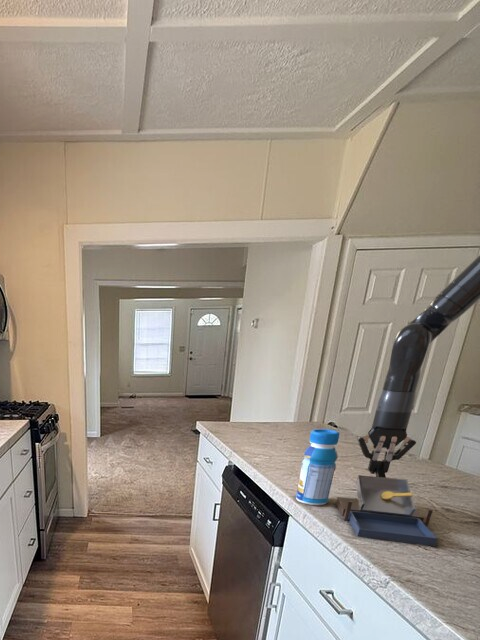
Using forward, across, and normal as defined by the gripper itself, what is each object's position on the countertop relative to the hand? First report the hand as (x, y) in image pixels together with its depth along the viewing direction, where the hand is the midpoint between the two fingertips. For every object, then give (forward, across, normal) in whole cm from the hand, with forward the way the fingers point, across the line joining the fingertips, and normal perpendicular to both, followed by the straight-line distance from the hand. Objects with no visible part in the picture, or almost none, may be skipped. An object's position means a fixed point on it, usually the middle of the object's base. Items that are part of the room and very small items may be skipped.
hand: (376, 473), depth 110 cm
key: (+2, -2, +10) cm, 11 cm away
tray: (+9, 0, +19) cm, 21 cm away
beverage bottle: (+9, +15, +3) cm, 18 cm away
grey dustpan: (+3, 0, +6) cm, 7 cm away
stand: (+9, 0, +10) cm, 13 cm away
